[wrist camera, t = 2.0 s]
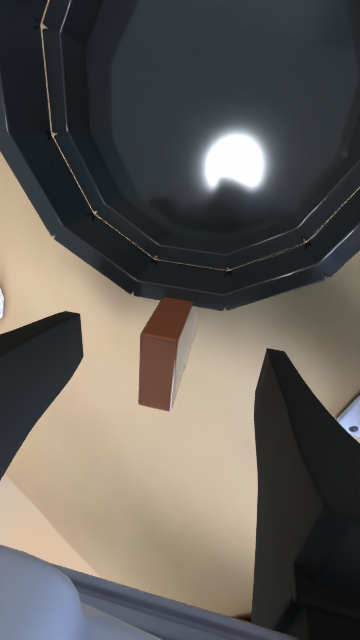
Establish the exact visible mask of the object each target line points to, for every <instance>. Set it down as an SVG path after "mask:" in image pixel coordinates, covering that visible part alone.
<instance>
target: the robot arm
mask: <svg viewBox="0 0 360 640" xmlns="http://www.w3.org/2000/svg"><path fill="white" fill-rule="evenodd" d="M82 358H83V344H82V332H81V319H80V314H78V313H73V312H68V311H64V312H61V313H57V314H55V315H52V316H49V317H46V318H44V319H41V320H38V321H36V322H33V323H31V324H28V325H25V326H23V327H20V328H18V329H15V330H12V331H9V332H6V333H3V334H1V335H0V480H1V478H2V477H3V475H4V473H5V472H6V470H7V468H8V467H9V465H10V463H11V461H12V460H13V458H14V456H15V455H16V453H17V451H18V450H19V448H20V447H21V445H22V443H23V442H24V440H25V439H26V437H27V435H28V434H29V432H30V431H31V429H32V428H33V427H34V425H35V424H36V422H37V421H38V420H39V418H40V417H41V416H42V415H43V413H44V412H45V411H46V410H47V408H48V407H49V406H50V404H51V403H52V402H53V401H54V399H55V398H56V397H57V396H58V394H59V393H60V392H61V390H62V389H63V388H64V387H65V385H66V384H67V383H68V381H69V380H70V379H71V377H72V376H73V374H74V372H75V371H76V369H77V367H78V366H79V364H80V362H81V360H82ZM254 426H255V441H256V456H257V470H258V502H257V528H256V550H255V568H254V585H253V600H252V615H251V623H247V622H244V621H241V620H237V619H234V618H231V617H228V616H224V615H221V614H218V613H214V612H211V611H208V610H204V609H201V608H198V607H194V606H191V605H188V604H184V603H181V602H178V601H175V600H171V599H168V598H165V597H161V596H158V595H155V594H151V593H148V592H145V591H141V590H138V589H135V588H131V587H128V586H125V585H121V584H118V583H115V582H112V581H108V580H105V579H102V578H98V577H95V576H92V575H88V574H85V573H82V572H78V571H75V570H71V569H68V568H65V567H62V566H58V565H55V564H52V563H49V562H46V561H44V560H42V559H40V558H37V557H35V556H33V555H30V554H28V553H25V552H23V551H20V550H17V549H13V548H10V547H7V546H3V545H0V640H360V443H359V442H358V441H356V440H355V439H354V438H353V437H352V436H351V435H350V434H352V435H354V436H356V437H359V438H360V395H359V396H358V397H357V398H356V399H355V400H354V401H353V402H352V403H351V404H350V405H349V406H348V407H347V408H346V409H345V411H344V412H343V413H342V414H341V415H340V416H339V417H338V418H337V420H335V418H334V417H333V416H332V415H331V414H330V413H329V412H328V411H327V409H326V408H325V407H324V406H323V405H322V403H321V402H320V401H319V400H318V399H317V397H316V396H315V395H314V394H313V392H312V391H311V390H310V388H309V387H308V385H307V384H306V383H305V381H304V380H303V378H302V377H301V376H300V374H299V373H298V371H297V370H296V368H295V367H294V365H293V364H292V362H291V360H290V359H289V357H288V356H287V354H286V353H285V352H284V351H279V350H274V349H269V348H267V350H266V354H265V358H264V361H263V365H262V369H261V372H260V376H259V380H258V384H257V387H256V391H255V404H254ZM350 426H354V427H350Z"/></svg>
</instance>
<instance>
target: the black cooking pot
mask: <svg viewBox="0 0 360 640" xmlns="http://www.w3.org/2000/svg"><path fill="white" fill-rule="evenodd" d="M47 1H48V0H0V151H1V153H2V155H3V156H4V158H5V160H6V161H7V163H8V165H9V166H10V168H11V170H12V171H13V173H14V175H15V176H16V178H17V180H18V182H19V183H20V185H21V187H22V188H23V190H24V192H25V193H26V195H27V197H28V198H29V200H30V202H31V203H32V205H33V207H34V208H35V210H36V212H37V213H38V215H39V217H40V218H41V220H42V222H43V223H44V225H45V227H46V228H47V230H48V232H49V233H50V235H51V236H55V237H54V239H55V240H56V241H57V242H59V243H60V244H61V245H63V246H64V247H66V248H67V249H68V250H70V251H71V252H72V253H74V254H75V255H77V256H78V257H79V258H81V259H82V260H83V261H85V262H86V263H88V264H89V265H90V266H92V267H93V268H95V269H96V270H97V271H99V272H100V273H101V274H103V275H104V276H106V277H107V278H108V279H110V280H111V281H112V282H114V283H115V284H117V285H118V286H119V287H121V288H122V289H123V290H125V291H126V292H128V293H129V294H132V293H133V294H134V296H138V297H143V298H149V299H155V300H161V301H160V303H159V305H158V306H157V308H156V309H155V311H154V313H153V314H152V316H151V317H150V319H149V321H148V322H147V324H146V326H145V327H144V329H143V330H142V332H141V334H140V364H139V398H138V403H139V405H142V406H147V407H151V408H156V409H160V410H165V411H171V409H172V407H173V403H174V400H175V397H176V394H177V391H178V388H179V385H180V382H181V378H182V375H183V372H184V369H185V366H186V363H187V360H188V357H189V353H190V350H191V347H192V344H193V341H194V338H195V334H196V327H197V319H198V311H199V307H201V308H207V309H213V310H218V311H223V310H224V307H225V309H226V310H231V309H234V308H237V307H241V306H244V305H247V304H250V303H254V302H257V301H260V300H263V299H267V298H270V297H273V296H276V295H279V294H283V293H286V292H289V291H292V290H296V289H299V288H302V287H305V286H309V285H312V284H315V283H318V282H322V281H324V280H325V276H326V277H331V276H332V275H333V274H334V273H335V272H336V271H338V270H339V269H340V268H341V267H342V266H343V265H344V264H345V263H346V262H347V261H348V260H350V259H351V258H352V257H353V256H354V255H355V254H356V253H357V252H358V251H359V250H360V189H359V190H358V191H357V192H356V193H355V194H354V195H353V196H352V197H351V198H350V199H349V200H348V201H347V202H346V203H345V201H346V200H347V199H348V198H349V197H350V196H351V195H352V194H353V193H354V192H355V191H356V190H357V189H358V188H359V187H360V0H50V1H49V4H48V7H47V10H46V14H45V17H44V20H43V24H44V26H46V27H47V28H48V29H47V28H44V29H43V30H42V31H43V41H44V51H45V61H46V72H47V82H48V92H49V103H50V113H51V123H52V132H53V133H57V134H56V135H55V136H54V138H55V140H56V142H57V144H58V146H59V147H60V149H61V151H62V153H63V155H64V157H65V159H66V161H67V163H68V164H69V166H70V168H71V170H72V172H73V174H74V176H75V178H76V179H77V181H78V183H79V185H80V187H81V189H82V191H83V193H84V194H85V196H86V198H87V200H88V202H89V204H90V206H91V208H92V210H93V211H97V215H98V216H99V217H100V218H102V219H103V220H104V221H106V222H107V223H108V224H110V225H111V226H112V227H114V228H115V229H116V230H118V231H119V232H120V233H122V234H123V235H124V236H126V237H127V238H128V239H130V240H131V241H132V242H134V243H135V244H136V245H138V246H139V247H140V248H142V249H143V250H144V251H146V252H147V253H148V254H150V255H151V256H152V257H156V256H157V259H158V260H165V261H171V262H178V263H184V264H191V265H197V266H204V267H210V268H216V269H223V270H226V269H227V266H228V268H229V269H233V268H236V267H239V266H241V265H244V264H247V263H250V262H253V261H255V260H258V259H261V258H264V257H267V256H269V255H272V254H275V253H278V252H281V251H283V250H286V249H289V248H292V247H294V246H297V245H300V244H303V242H304V241H303V239H304V240H306V241H307V240H309V239H310V238H311V237H312V235H313V234H314V233H315V232H316V231H317V230H318V229H319V228H320V227H321V226H322V225H323V224H324V223H325V222H326V221H327V220H328V219H329V218H330V217H331V216H332V215H333V214H334V213H335V212H336V211H337V210H338V209H339V208H340V207H341V206H342V205H343V204H344V203H345V204H344V205H343V206H342V207H341V208H340V209H339V210H338V211H337V212H336V213H335V214H334V215H333V216H332V218H331V219H330V220H329V221H328V222H327V223H326V224H325V225H324V226H323V227H322V228H321V229H320V230H319V231H318V232H317V233H316V234H315V235H314V236H313V237H312V238H311V239H310V240H309V241H308V242H307V243H306V244H303V245H301V246H298V247H295V248H292V249H289V250H287V251H284V252H281V253H278V254H275V255H273V256H270V257H267V258H264V259H261V260H259V261H256V262H253V263H250V264H247V265H245V266H242V267H239V268H236V269H233V270H231V271H222V270H215V269H209V268H202V267H196V266H190V265H183V264H177V263H170V262H164V261H157V260H154V259H153V258H151V257H150V256H149V255H147V254H146V253H145V252H143V251H142V250H141V249H139V248H138V247H137V246H135V245H134V244H133V243H131V242H130V241H129V240H127V239H126V238H125V237H123V236H122V235H121V234H119V233H118V232H117V231H115V230H114V229H113V228H111V227H110V226H109V225H107V224H106V223H105V222H103V221H102V220H101V219H99V218H98V217H97V216H95V215H94V214H93V212H92V210H91V208H90V206H89V205H88V203H87V201H86V199H85V197H84V195H83V193H82V191H81V190H80V188H79V186H78V184H77V182H76V180H75V178H74V176H73V175H72V173H71V171H70V169H69V167H68V165H67V163H66V161H65V160H64V158H63V156H62V154H61V152H60V150H59V148H58V146H57V145H56V143H55V141H54V139H53V137H52V135H51V128H50V118H49V108H48V98H47V88H46V78H45V68H44V58H43V48H42V37H41V27H40V24H41V21H42V18H43V14H44V11H45V8H46V4H47Z"/></svg>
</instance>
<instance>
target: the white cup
mask: <svg viewBox="0 0 360 640" xmlns="http://www.w3.org/2000/svg"><path fill="white" fill-rule="evenodd" d="M3 304H4V297H3V294H2V291H1V289H0V319H1V318H2V316H3Z"/></svg>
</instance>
